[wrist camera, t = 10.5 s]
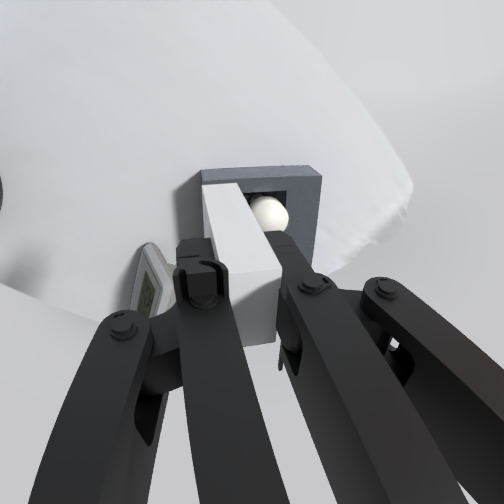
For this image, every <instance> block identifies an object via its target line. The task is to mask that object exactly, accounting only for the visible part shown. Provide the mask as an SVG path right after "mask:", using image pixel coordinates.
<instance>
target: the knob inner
mask: <svg viewBox="0 0 504 504" xmlns="http://www.w3.org/2000/svg"><path fill="white" fill-rule="evenodd" d="M250 202H251V204H250V206H249V207H250V209H251V210H252V212H253V214H254V216H255V218H256V220H257V222H258V223H259V225H260V227H261V229H262V231H263V232H265V231H276V230H281V231H284V230H285V229H286V227H287V225H288V220H289V217H288V213H287V211H286V209H285V208H284V207H283V205H282V204H281V203H280V202H279V201H278V200H277V199H276V198H274V197H271V196H262V195H260V194H255V195H253V196H252V197H251V200H250Z"/></svg>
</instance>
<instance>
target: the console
mask: <svg viewBox="0 0 504 504" xmlns="http://www.w3.org/2000/svg"><path fill="white" fill-rule="evenodd" d="M227 183H237V185H238V186H239V188H240V190H241V192H242V194H243V193H251V192H268V191H276V195H275V198H276V199H277V200H278V201H279V202H280V203H281V204H282V205H283V207H284V208H285V209H286V211H287V213H288V217H289V220H288V225H287V227H286V229H285V230H284V231H283V232H285V233H286V234H288V235H289V236H291V237H292V239H293V240H294V242H295V243H296V246H298V248H299V249H300V252H302V254H303V255H304V257H305V258H306V260H307V261H308V263H309V265H310V266H311V265H312V257H313V250H314V243H315V235H316V227H317V219H318V210H319V201H320V192H321V183H322V175H321V174H319V173H318V172H317V171H315V170H314V169H313V168H311V167H310V166H309V165H302V166H263V167H240V168H223V169H208V170H201V186H202V185H213V184H227ZM202 206H203V202H202ZM203 224H204V221H203ZM204 238H205V237H204Z"/></svg>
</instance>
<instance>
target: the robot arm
mask: <svg viewBox="0 0 504 504" xmlns="http://www.w3.org/2000/svg"><path fill="white" fill-rule="evenodd" d="M2 199H3V190H2V182H1V178H0V210H1V206H2ZM202 202H203V221H204V237H205V238H200V239H189V240H182V241H181V242H180V244H179V245H178V246H177V248H176V258H177V259H176V261H177V267H176V268H175V269H174V272H173V275H172V278H173V284H174V291H175V297H176V302H175V304H174V305H173V306H172V307H171V308H170V309H169V310H167V311H166V312H164V313H162V314H160V315H157V316H154V317H151V318H147V316H145V315H144V314H142V313H141V312H138V311H134V310H121V311H118V312H115V313H112V314H111V315H109V316H108V317H106V318H105V319H104V320H103V321H102V322H101V324H100V325H99V327H98V329H97V331H96V333H95V335H94V337H93V339H92V341H91V343H90V345H89V347H88V349H87V352H86V353H85V355H84V357H83V360H82V362H81V364H80V366H79V368H78V370H77V373H76V375H75V377H74V380H73V382H72V384H71V386H70V388H69V391H68V393H67V396H66V398H65V400H64V403H63V405H62V407H61V410H60V412H59V415H58V417H57V420H56V422H55V425H54V428H53V430H52V433H51V435H50V438H49V441H48V443H47V446H46V449H45V452H44V455H43V457H42V461H41V463H40V466H39V469H38V472H37V475H36V479H35V482H34V485H33V488H32V491H31V495H30V498H29V502H28V504H147V502H148V495H149V490H150V484H151V479H152V474H153V468H154V463H155V458H156V453H157V448H158V442H159V438H160V432H161V428H162V423H163V418H164V414H165V408H166V404H167V400H168V395H169V391H172V390H174V389H177V388H179V387H182V386H183V391H184V399H185V408H186V416H187V425H188V432H189V440H190V447H191V453H192V460H193V466H194V473H195V478H196V484H197V489H198V495H199V501H200V504H290V502H289V499H288V496H287V493H286V490H285V487H284V484H283V481H282V478H281V474H280V471H279V468H278V465H277V462H276V459H275V456H274V452H273V449H272V446H271V442H270V439H269V436H268V433H267V429H266V426H265V422H264V419H263V416H262V412H261V409H260V406H259V402H258V399H257V396H256V392H255V389H254V385H253V382H252V378H251V375H250V371H249V368H248V364H247V361H246V357H245V354H244V350H243V347H246V346H252V345H260V344H265V343H272V342H275V341H276V331H277V332H278V334H279V336H280V339H281V345H280V354H279V361H278V369H279V371H281V370H282V368H283V363H284V365H285V368H286V371H287V373H288V376H289V378H290V381H291V384H292V387H293V389H294V392H295V394H296V397H297V400H298V402H299V405H300V408H301V410H302V413H303V416H304V418H305V421H306V424H307V426H308V429H309V431H310V434H311V437H312V439H313V442H314V444H315V447H316V450H317V452H318V455H319V457H320V460H321V462H322V465H323V468H324V470H325V473H326V476H327V478H328V481H329V483H330V486H331V488H332V491H333V493H334V496H335V498H336V501H337V504H469V503H468V501H467V499H466V498H465V496H464V494H463V492H462V490H461V488H460V486H459V484H458V482H459V483H460V484H461V486H462V487H463V488H464V489H465V490H466V491H467V492H468V493H469V494H470V495H471V496H472V497H473V498H474V500H475V501H476V502H477V503H478V504H504V369H502V368H501V367H500V366H499V365H498V364H497V363H496V362H495V361H493V360H492V359H491V358H490V357H489V356H488V355H487V354H486V353H484V352H483V351H482V350H481V349H480V348H479V347H478V346H477V345H475V344H474V343H473V342H472V341H471V340H470V339H468V338H467V337H466V336H465V335H463V334H462V333H461V332H460V331H459V330H458V329H457V328H455V327H454V326H453V325H452V324H451V323H449V322H448V321H447V320H446V319H444V318H443V317H442V316H441V315H440V314H438V313H437V312H436V311H435V310H433V309H432V308H431V307H430V306H429V305H427V304H426V303H425V302H424V301H422V300H421V299H419V298H418V297H417V296H416V295H414V294H413V293H412V292H411V291H410V290H408V289H407V288H406V287H404V286H403V285H402V284H400V283H399V282H397V281H395V280H393V279H389V278H386V277H375V278H371V279H369V280H368V281H366V283H365V285H364V288H363V291H356V290H344V289H338V288H337V286H336V285H335V283H334V282H333V281H332V280H331V279H330V278H329V277H327V276H325V275H323V274H319V273H315V272H314V271H313V269H312V268H311V266H310V265H309V263H308V261H307V260H306V258H305V257H304V255H303V254H302V252H300V249H299V248H298V246H296V243H295V242H294V240H293V239H292V237H291V236H289V235H288V234H286V233H285V232H283V231H281V230H276V231H265V232H263V231H262V229H261V227H260V225H259V223H258V222H257V220H256V218H255V216H254V214H253V212H252V210H251V209H250V207H249V205H248V203H247V201H246V199H245V197H244V196H243V194H242V192H241V190H240V188H239V186H238V185H237V183H227V184H213V185H202ZM392 338H394V339H395V340H396V341H397V342H399V343H400V344H399V346H398V348H394V347H393V346H391V345H390V342H391V340H392ZM457 481H458V482H457Z"/></svg>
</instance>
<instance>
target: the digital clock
mask: <svg viewBox="0 0 504 504" xmlns="http://www.w3.org/2000/svg"><path fill="white" fill-rule="evenodd" d="M176 267H177V265H172V264H167V262H166V260H165V258H164V256H163V255H162V253H161V251H160V249H159V248H158V247H157V246H156V245H155V244H154V243H150V242H149V243H147V244H146V245H145V246H144V247H143V249H142V252H141V256H140V260H139V265H138V269H137V274H136V278H135V283H134V288H133V293H132V298H131V303H130V309H129V310H134V311H138V312H141V313H142V314H144V315H145V316H147V318H151V317H154V316H157V315H160V314H162V313H164V312H166V311H167V310H169V309H170V308H171V307H172V306H173V305H174V304H175V302H176V297H175V291H174V284H173V278H172V275H173V272H174V269H175V268H176Z"/></svg>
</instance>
